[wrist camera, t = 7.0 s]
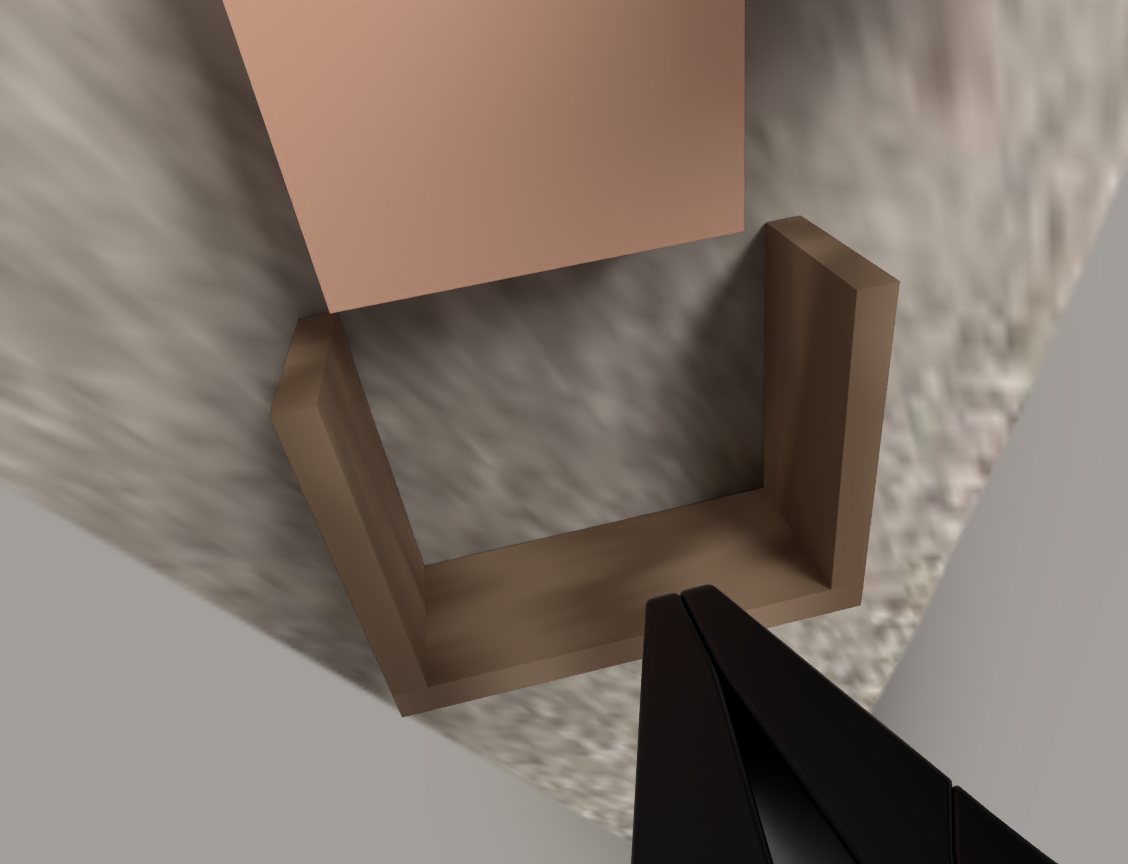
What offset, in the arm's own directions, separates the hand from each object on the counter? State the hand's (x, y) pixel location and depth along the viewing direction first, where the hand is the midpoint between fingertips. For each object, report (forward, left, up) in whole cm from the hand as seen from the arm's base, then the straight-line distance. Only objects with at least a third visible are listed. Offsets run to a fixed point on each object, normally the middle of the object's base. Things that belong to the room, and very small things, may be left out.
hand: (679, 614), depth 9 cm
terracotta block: (0, -6, -13) cm, 14 cm away
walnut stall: (-1, +6, -13) cm, 14 cm away
